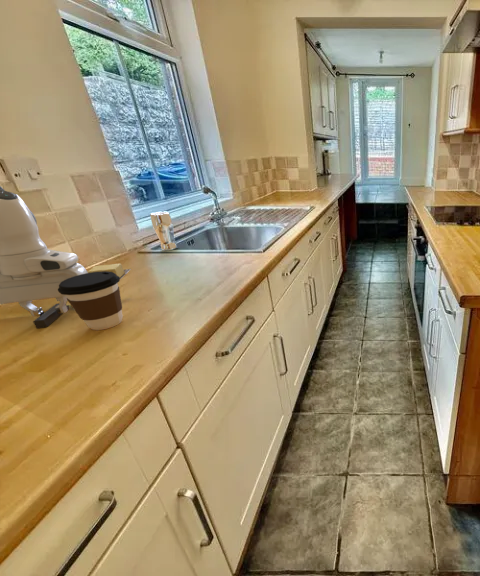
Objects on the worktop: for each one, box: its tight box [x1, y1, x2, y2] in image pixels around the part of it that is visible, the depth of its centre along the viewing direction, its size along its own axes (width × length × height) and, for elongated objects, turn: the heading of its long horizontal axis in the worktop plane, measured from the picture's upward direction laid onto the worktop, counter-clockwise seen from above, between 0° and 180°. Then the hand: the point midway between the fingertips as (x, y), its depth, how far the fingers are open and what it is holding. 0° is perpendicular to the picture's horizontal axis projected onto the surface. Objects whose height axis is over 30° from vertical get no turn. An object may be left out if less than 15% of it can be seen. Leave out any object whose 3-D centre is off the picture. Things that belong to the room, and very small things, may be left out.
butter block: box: [87, 263, 125, 278], centre depth 101 cm, size 7×6×4 cm
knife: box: [32, 300, 71, 329], centre depth 85 cm, size 21×2×3 cm, turn 19°
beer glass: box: [149, 211, 179, 251], centre depth 133 cm, size 7×7×15 cm
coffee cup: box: [58, 271, 123, 331], centre depth 76 cm, size 11×11×12 cm
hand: (51, 313), depth 80 cm, fingers open, 3 cm apart
